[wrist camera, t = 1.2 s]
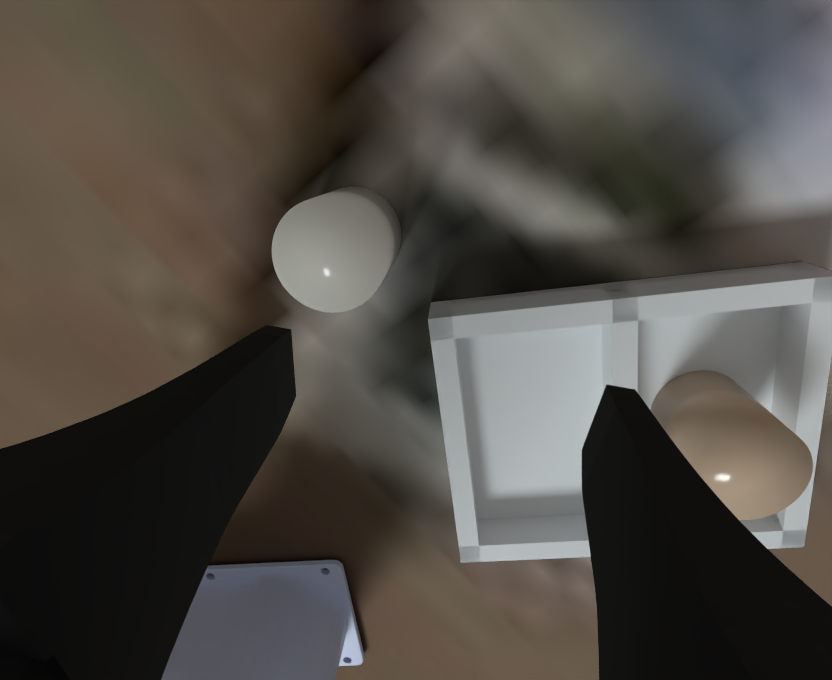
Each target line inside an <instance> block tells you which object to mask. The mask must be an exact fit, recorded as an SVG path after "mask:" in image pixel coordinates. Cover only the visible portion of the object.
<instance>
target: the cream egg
mask: <svg viewBox="0 0 832 680" xmlns="http://www.w3.org/2000/svg"><path fill="white" fill-rule="evenodd" d="M401 238H402V234H401V226H400V222H399V219H398V216H397V214H396V212H395V211H394V209H393V208H392V206H391V205H390V204H389V203H388V201H386V200H385V199H384V198H383V197H382V196H380V195H379V194H378V193H376V192H374V191H372V190H369V189H366V188H362V187H344V188H340V189H337V190H334V191H331V192H328V193H326V194H323V195H320V196H317V197H314V198H311V199H309V200H306V201H303V202H301V203H299V204H297V205H296V206H294V207H293V208H292V209H290V210H289V211H288V212H287V213H286V214H285V215H284V216H283V218H282V219H281V220H280V222H279V224H278V226H277V228H276V230H275V233H274V237H273V241H272V260H273V265H274V268H275V272H276V274H277V276H278V278H279V280H280V282H281V283H282V285H283V286H284V288H285V289H286V290H287V291H288V292H289V294H290V295H291V296H292V297H294V298H295V299H296V300H297V301H299V302H300V303H302V304H303V305H305V306H307V307H309V308H312V309H314V310H317V311H322V312H329V313H339V312H345V311H349V310H352V309H355V308H357V307H359V306H361V305H362V304H364V303H365V302H366V301H368V300H369V299H370V298H371V297H372V296H373V295H374V294H375V292H376V291H377V289H378V288H379V286H380V285H381V283H382V281H383V280H384V278H385V276H386V274H387V273H388V271H389V269H390V268H391V266H392V264H393V263H394V261H395V259H396V257H397V255H398V253H399V250H400V246H401Z"/></svg>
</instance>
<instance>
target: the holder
mask: <svg viewBox="0 0 832 680" xmlns="http://www.w3.org/2000/svg"><path fill="white" fill-rule="evenodd" d="M428 325H429V332H430V340H431V347H432V354H433V362H434V369H435V376H436V383H437V391H438V398H439V405H440V413H441V420H442V427H443V435H444V442H445V449H446V456H447V464H448V471H449V478H450V486H451V493H452V500H453V507H454V515H455V522H456V529H457V537H458V544H459V551H460V559H461V563H464V562H486V561H508V560H530V559H552V558H574V557H591V554H590V547H589V540H588V533H587V526H586V519H585V511H584V504H583V496H582V448H583V445H584V442H585V440H586V437H587V434H588V432H589V429H590V426H591V424H592V421H593V419H594V416H595V413H596V411H597V408H598V405H599V403H600V400H601V397H602V395H603V392H604V389H605V387H606V384H607V385H613V386H618V387H624V388H630V389H635V390H636V391H637V393H638V394H639V395H640V397H641V398H642V399H643V401H644V402H645V403H646V405H647V406H648V408H649V409H650V410H651V406H652V403H653V400H654V398H655V397H656V395H657V394H658V392H659V391H660V390H661V389H662V388H663V387H664V386H665V385H666V384H667V383H668V382H669V381H671V380H673V379H674V378H676V377H678V376H680V375H682V374H685V373H688V372H692V371H699V370H707V371H715V372H719V373H722V374H724V375H726V376H728V377H729V378H731V379H732V380H734V381H735V382H736V383H737V384H738V385H739V386H740V387H742V388H743V389H744V390H745V391H746V392H747V393H749V394H750V395H751V396H752V397H753V398H754V399H755V400H757V401H758V402H759V403H760V404H761V405H762V406H764V407H765V408H766V409H767V410H768V411H769V412H770V413H772V414H773V415H774V416H775V417H776V418H777V419H779V420H780V421H781V422H782V423H783V424H784V425H785V426H787V427H788V428H789V429H790V430H791V431H792V432H794V433H795V434H796V435H797V436H798V437H799V438H800V439H801V440H802V441H803V442H804V443H805V444H806V445H807V447H808V448H809V450H810V452H811V456H812V460H813V472H812V476H811V479H810V482H809V484H808V486H807V487H806V489H805V491H804V492H803V493H802V495H801V496H800V497H799V498H798V499H797V500H796V501H794V502H793V503H792V504H791V505H789V506H788V507H786V508H785V509H783V510H781V511H779V512H778V513H775V514H773V515H770V516H767V517H764V518H759V519H752V520H739V521H740V522H741V523H742V524H743V525H744V526H745V527H746V528H747V529H748V530H749V531H750V532H751V533H752V534H753V535H754V536H755V537H756V538H757V539H758V540H759V541H760V542H761V543H762V544H763V545H764V546H765V547H766V548H767V549H772V548H794V547H804V544H805V537H806V530H807V523H808V516H809V509H810V502H811V495H812V489H813V482H814V475H815V468H816V461H817V454H818V447H819V440H820V433H821V426H822V419H823V412H824V405H825V398H826V391H827V384H828V377H829V371H830V364H831V357H832V271H830V270H827V269H824V268H821V267H818V266H815V265H812V264H809V263H806V262H794V263H785V264H775V265H766V266H757V267H748V268H739V269H730V270H721V271H712V272H703V273H693V274H684V275H675V276H666V277H657V278H648V279H639V280H630V281H621V282H611V283H602V284H593V285H584V286H575V287H566V288H557V289H548V290H539V291H530V292H520V293H511V294H502V295H493V296H484V297H475V298H466V299H457V300H448V301H438V302H431V305H430V310H429V315H428Z"/></svg>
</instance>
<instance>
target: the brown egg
mask: <svg viewBox="0 0 832 680" xmlns="http://www.w3.org/2000/svg"><path fill="white" fill-rule="evenodd" d="M650 411H651V412H652V413H653V415H654V416H655V418H656V419H657V420H658V422H659V423H660V424H661V426H662V427H663V429H664V430H665V431H666V433H667V434H668V435H669V437H670V438H671V439H672V441H673V442H674V443H675V445H676V446H677V447H678V449H679V450H680V451H681V453H682V454H683V455H684V457H685V458H686V459H687V460H688V462H689V463H690V464H691V465H692V467H693V468H694V469H695V470H696V472H697V473H698V474H699V475H700V477H701V478H702V479H703V480H704V481H705V483H706V484H707V485H708V486H709V487H710V488H711V489H712V491H713V492H714V493H715V494H716V495H717V496H718V498H719V499H720V500H721V501H722V502H723V503H724V504H725V506H726V507H727V508H728V509H729V510H730V511H731V512H732V513H733V514H734V515H735V516H736V518H737V519H738V520H752V519H759V518H764V517H767V516H770V515H773V514H775V513H778V512H779V511H781V510H783V509H785V508H786V507H788V506H789V505H791V504H792V503H793V502H794V501H796V500H797V499H798V498H799V497H800V496H801V495H802V493H803V492H804V491H805V489H806V487H807V486H808V484H809V482H810V479H811V476H812V472H813V460H812V456H811V452H810V450H809V448H808V447H807V445H806V444H805V443H804V442H803V441H802V440H801V439H800V438H799V437H798V436H797V435H796V434H795V433H794V432H792V431H791V430H790V429H789V428H788V427H787V426H785V425H784V424H783V423H782V422H781V421H780V420H779V419H777V418H776V417H775V416H774V415H773V414H772V413H770V412H769V411H768V410H767V409H766V408H765V407H764V406H762V405H761V404H760V403H759V402H758V401H757V400H755V399H754V398H753V397H752V396H751V395H750V394H749V393H747V392H746V391H745V390H744V389H743V388H742V387H740V386H739V385H738V384H737V383H736V382H735V381H734V380H732V379H731V378H729V377H728V376H726V375H724V374H722V373H719V372H715V371H707V370H699V371H692V372H688V373H685V374H682V375H680V376H678V377H676V378H674V379H673V380H671V381H669V382H668V383H667V384H666V385H665V386H664V387H663V388H662V389H661V390H660V391H659V392H658V394H657V395H656V397H655V398H654V400H653V403H652V406H651V410H650Z"/></svg>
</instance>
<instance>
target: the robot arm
mask: <svg viewBox="0 0 832 680" xmlns="http://www.w3.org/2000/svg"><path fill="white" fill-rule="evenodd" d="M295 397H296V388H295V375H294V362H293V348H292V335H291V329H285V328H280V327H274V326H268V325H266V326H264V327H262V328H260V329H259V330H257V331H255V332H253V333H252V334H250V335H248V336H247V337H245V338H243V339H242V340H240V341H239V342H237V343H235V344H234V345H232V346H230V347H229V348H227V349H225V350H224V351H222V352H220V353H219V354H217V355H215V356H214V357H212V358H210V359H209V360H207V361H205V362H204V363H202V364H200V365H199V366H197V367H195V368H193V369H192V370H190V371H188V372H186V373H184V374H182V375H181V376H179V377H177V378H175V379H173V380H171V381H169V382H168V383H166V384H164V385H162V386H160V387H158V388H156V389H155V390H153V391H151V392H149V393H147V394H145V395H143V396H140V397H138V398H136V399H134V400H132V401H130V402H128V403H125V404H123V405H121V406H118V407H116V408H114V409H112V410H109V411H107V412H105V413H102V414H100V415H97V416H95V417H92V418H90V419H87V420H84V421H82V422H79V423H76V424H74V425H71V426H68V427H65V428H63V429H60V430H57V431H55V432H52V433H49V434H46V435H44V436H41V437H38V438H34V439H31V440H28V441H25V442H22V443H19V444H16V445H12V446H9V447H5V448H2V449H0V680H336V676H337V671H338V667H339V666H350V665H360V664H362V663H363V660H364V652H363V647H362V643H361V639H360V635H359V630H358V626H357V622H356V618H355V613H354V609H353V605H352V601H351V596H350V592H349V588H348V583H347V579H346V575H345V571H344V566H343V564H342V563H341V562H340V561H338V560H317V561H296V562H275V563H254V564H233V565H212V566H208V564H209V562H210V560H211V558H212V556H213V554H214V552H215V549H216V547H217V545H218V543H219V541H220V539H221V536H222V534H223V532H224V530H225V528H226V526H227V524H228V522H229V520H230V518H231V516H232V515H233V513H234V511H235V509H236V507H237V506H238V504H239V502H240V501H241V499H242V497H243V496H244V494H245V492H246V491H247V489H248V487H249V486H250V484H251V482H252V481H253V479H254V477H255V475H256V474H257V472H258V470H259V469H260V467H261V465H262V464H263V462H264V460H265V459H266V457H267V455H268V454H269V452H270V450H271V448H272V447H273V445H274V443H275V442H276V440H277V438H278V436H279V435H280V433H281V431H282V428H283V426H284V424H285V422H286V419H287V417H288V415H289V412H290V410H291V407H292V405H293V402H294V400H295ZM582 496H583V504H584V511H585V519H586V526H587V533H588V540H589V547H590V554H591V562H592V569H593V576H594V583H595V591H596V602H597V617H598V645H599V680H832V606H830V605H829V604H828V603H827V602H826V601H824V600H823V599H822V598H821V597H820V596H819V595H817V594H816V593H815V592H814V591H813V590H812V589H811V588H810V587H808V586H807V585H806V584H805V583H804V582H803V581H802V580H801V579H799V578H798V577H797V576H796V575H795V574H794V573H793V572H792V571H790V570H789V569H788V568H787V567H786V566H785V565H784V564H783V563H782V562H781V561H780V560H779V559H777V558H776V557H775V556H774V555H773V554H772V553H771V552H770V551H769V550H768V549H767V548H766V547H765V546H764V545H763V544H762V543H761V542H760V541H759V540H758V539H757V538H756V537H755V536H754V535H753V534H752V533H751V532H750V531H749V530H748V529H747V528H746V527H745V526H744V525H743V524H742V523H741V522H740V521H739V520H738V519H737V518H736V516H735V515H734V514H733V513H732V512H731V511H730V510H729V509H728V508H727V507H726V506H725V504H724V503H723V502H722V501H721V500H720V499H719V498H718V496H717V495H716V494H715V493H714V492H713V491H712V489H711V488H710V487H709V486H708V485H707V484H706V483H705V481H704V480H703V479H702V478H701V477H700V475H699V474H698V473H697V472H696V470H695V469H694V468H693V467H692V465H691V464H690V463H689V462H688V460H687V459H686V458H685V457H684V455H683V454H682V453H681V451H680V450H679V449H678V447H677V446H676V445H675V443H674V442H673V441H672V439H671V438H670V437H669V435H668V434H667V433H666V431H665V430H664V429H663V427H662V426H661V424H660V423H659V422H658V420H657V419H656V418H655V416H654V415H653V413H652V412H651V411H650V409H649V408H648V406H647V405H646V403H645V402H644V401H643V399H642V398H641V397H640V395H639V394H638V393H637V391H636V390H635V389H630V388H624V387H618V386H613V385H607V384H606V387H605V389H604V392H603V395H602V397H601V400H600V403H599V405H598V408H597V411H596V413H595V416H594V419H593V421H592V424H591V426H590V429H589V432H588V434H587V437H586V440H585V442H584V445H583V448H582ZM324 568H327V569H329V570H325V569H324ZM210 573H211V574H210ZM212 574H213V575H212Z"/></svg>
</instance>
